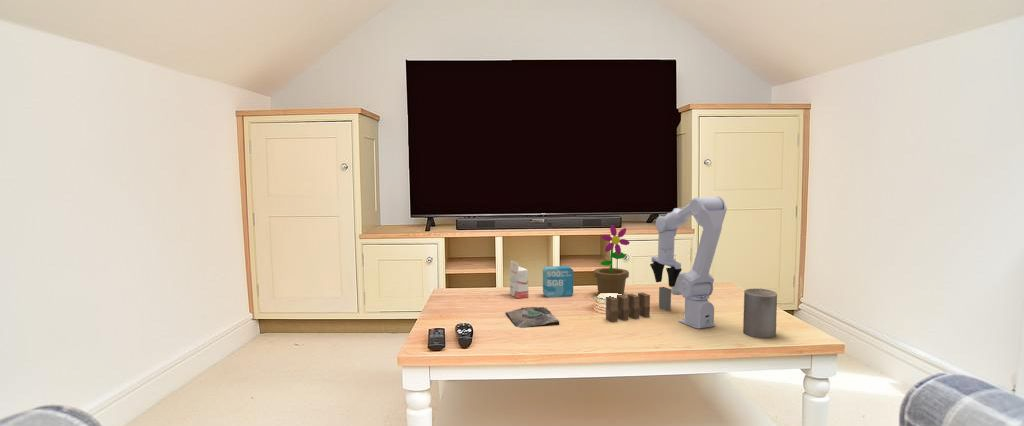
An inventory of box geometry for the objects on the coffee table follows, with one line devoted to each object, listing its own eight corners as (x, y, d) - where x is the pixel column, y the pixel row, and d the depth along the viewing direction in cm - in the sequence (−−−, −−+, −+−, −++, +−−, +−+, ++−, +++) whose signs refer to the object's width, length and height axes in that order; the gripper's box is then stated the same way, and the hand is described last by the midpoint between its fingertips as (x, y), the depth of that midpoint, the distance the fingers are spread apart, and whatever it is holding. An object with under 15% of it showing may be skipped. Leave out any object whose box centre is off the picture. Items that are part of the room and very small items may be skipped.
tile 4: (628, 320, 192) (628, 297, 191) (623, 320, 191) (623, 298, 190) (621, 316, 196) (621, 294, 195) (616, 317, 195) (616, 295, 194)
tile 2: (649, 317, 195) (649, 295, 194) (644, 317, 194) (645, 295, 194) (642, 313, 199) (642, 292, 198) (637, 314, 198) (637, 292, 198)
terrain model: (504, 313, 203) (504, 305, 203) (543, 311, 207) (543, 303, 206) (516, 330, 184) (516, 320, 183) (559, 327, 187) (559, 317, 186)
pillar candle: (748, 327, 182) (749, 283, 181) (779, 332, 176) (781, 287, 175) (739, 334, 175) (740, 289, 173) (771, 340, 169) (773, 293, 167)
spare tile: (670, 310, 203) (671, 289, 203) (666, 310, 203) (666, 289, 202) (663, 307, 208) (663, 286, 207) (658, 308, 207) (659, 287, 206)
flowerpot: (602, 301, 218) (602, 226, 215) (588, 292, 231) (588, 222, 228) (634, 298, 221) (635, 225, 219) (618, 290, 235) (619, 221, 232)
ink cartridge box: (529, 297, 224) (528, 262, 223) (518, 299, 222) (518, 263, 221) (520, 293, 232) (519, 259, 230) (509, 294, 230) (509, 260, 228)
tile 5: (617, 321, 190) (617, 299, 189) (612, 322, 189) (612, 299, 188) (610, 318, 194) (610, 296, 193) (605, 318, 193) (606, 296, 192)
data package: (545, 297, 224) (545, 268, 223) (542, 295, 228) (542, 266, 227) (573, 296, 226) (573, 267, 225) (570, 293, 230) (570, 265, 229)
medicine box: (690, 292, 231) (690, 272, 230) (692, 294, 227) (693, 274, 226) (671, 291, 232) (671, 271, 231) (673, 294, 227) (673, 274, 226)
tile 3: (639, 318, 193) (639, 296, 193) (634, 319, 193) (634, 297, 192) (631, 315, 197) (632, 293, 197) (627, 316, 197) (627, 294, 196)
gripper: (688, 250, 198) (686, 287, 199) (662, 244, 211) (661, 278, 212) (672, 252, 195) (671, 289, 196) (647, 245, 208) (646, 280, 210)
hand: (665, 284), depth 204 cm, fingers open, 7 cm apart
